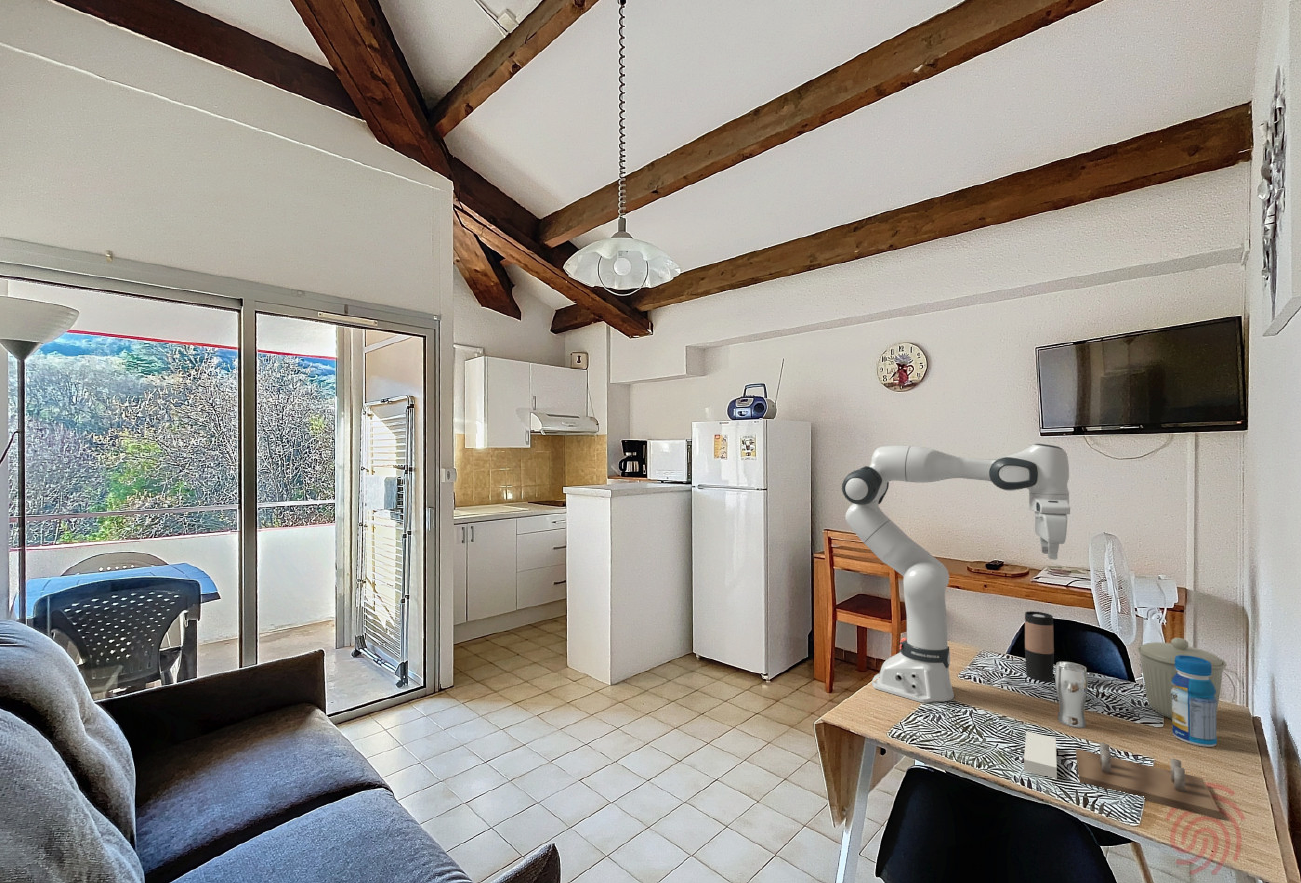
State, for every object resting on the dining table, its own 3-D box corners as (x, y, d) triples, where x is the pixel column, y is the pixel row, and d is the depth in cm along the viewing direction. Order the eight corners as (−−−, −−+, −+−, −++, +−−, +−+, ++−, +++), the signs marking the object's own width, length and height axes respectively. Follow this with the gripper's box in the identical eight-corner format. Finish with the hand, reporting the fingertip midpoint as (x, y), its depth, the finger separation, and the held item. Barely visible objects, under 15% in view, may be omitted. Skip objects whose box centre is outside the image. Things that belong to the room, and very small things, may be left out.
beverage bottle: (1211, 751, 138) (1210, 667, 139) (1166, 737, 146) (1164, 657, 146) (1222, 742, 143) (1221, 661, 143) (1178, 728, 150) (1176, 651, 150)
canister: (1244, 726, 151) (1243, 645, 152) (1197, 735, 146) (1196, 652, 147) (1166, 698, 169) (1165, 626, 169) (1121, 705, 164) (1120, 631, 164)
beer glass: (1093, 730, 149) (1093, 671, 149) (1063, 727, 150) (1063, 669, 151) (1079, 718, 156) (1078, 662, 156) (1050, 715, 157) (1050, 660, 158)
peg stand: (1079, 783, 125) (1079, 755, 125) (1076, 755, 137) (1075, 729, 137) (1219, 819, 113) (1219, 788, 113) (1202, 785, 124) (1202, 757, 124)
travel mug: (1019, 673, 188) (1018, 611, 188) (1041, 672, 189) (1040, 610, 189) (1037, 682, 180) (1037, 618, 181) (1060, 681, 181) (1059, 617, 181)
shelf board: (1024, 772, 130) (1024, 759, 130) (1026, 743, 143) (1026, 731, 143) (1056, 781, 126) (1056, 767, 126) (1055, 750, 139) (1055, 738, 140)
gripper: (1028, 501, 165) (1028, 549, 165) (1041, 506, 146) (1042, 561, 146) (1055, 502, 162) (1055, 551, 162) (1071, 508, 144) (1072, 563, 144)
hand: (1049, 556), depth 154 cm, fingers open, 8 cm apart
